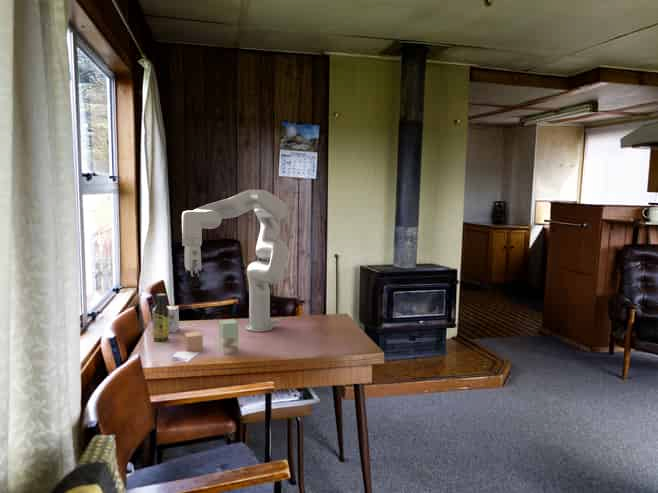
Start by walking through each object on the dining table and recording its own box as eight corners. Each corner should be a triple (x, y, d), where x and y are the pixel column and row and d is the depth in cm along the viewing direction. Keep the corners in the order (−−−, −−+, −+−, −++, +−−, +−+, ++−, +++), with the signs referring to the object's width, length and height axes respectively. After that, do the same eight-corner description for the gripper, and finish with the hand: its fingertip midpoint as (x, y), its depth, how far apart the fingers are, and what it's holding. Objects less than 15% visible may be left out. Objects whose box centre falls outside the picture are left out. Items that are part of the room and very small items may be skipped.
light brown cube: (199, 345, 205) (199, 331, 204) (202, 349, 200) (202, 335, 199) (184, 347, 202) (184, 333, 201) (187, 351, 197) (187, 336, 196)
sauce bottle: (150, 340, 210) (149, 294, 208) (161, 336, 216) (160, 292, 213) (161, 342, 207) (160, 296, 205) (172, 339, 212) (171, 293, 210)
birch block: (233, 347, 202) (233, 333, 202) (238, 352, 197) (238, 337, 196) (219, 349, 200) (219, 335, 199) (223, 354, 194) (223, 339, 194)
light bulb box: (151, 332, 222) (151, 309, 220) (155, 328, 228) (155, 305, 227) (176, 332, 223) (175, 309, 221) (179, 328, 229) (178, 305, 228)
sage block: (233, 333, 202) (233, 319, 201) (238, 337, 196) (238, 322, 196) (219, 335, 199) (219, 320, 198) (223, 339, 194) (223, 324, 193)
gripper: (206, 243, 190) (206, 287, 192) (196, 239, 205) (197, 280, 207) (186, 244, 187) (187, 288, 188) (178, 240, 202) (178, 281, 204)
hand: (192, 284), depth 198 cm, fingers open, 9 cm apart
